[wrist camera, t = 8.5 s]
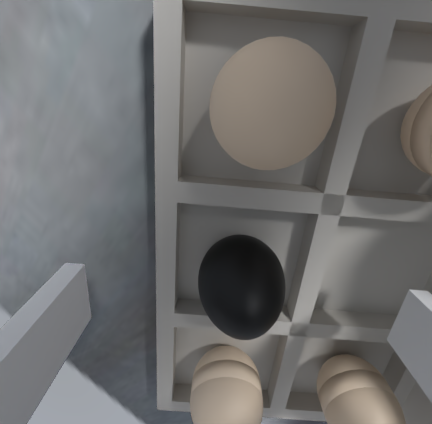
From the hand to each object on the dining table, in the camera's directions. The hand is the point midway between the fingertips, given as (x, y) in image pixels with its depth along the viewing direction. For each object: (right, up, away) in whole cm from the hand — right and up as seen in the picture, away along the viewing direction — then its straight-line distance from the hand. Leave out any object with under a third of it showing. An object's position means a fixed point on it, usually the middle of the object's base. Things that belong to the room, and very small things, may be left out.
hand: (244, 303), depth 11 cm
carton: (+4, +1, +4) cm, 6 cm away
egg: (0, +1, +4) cm, 4 cm away
